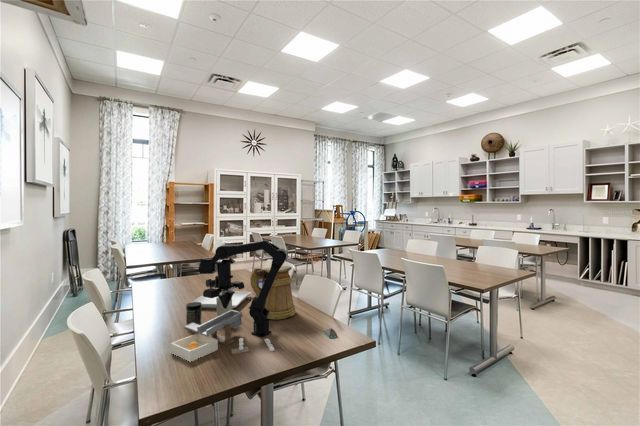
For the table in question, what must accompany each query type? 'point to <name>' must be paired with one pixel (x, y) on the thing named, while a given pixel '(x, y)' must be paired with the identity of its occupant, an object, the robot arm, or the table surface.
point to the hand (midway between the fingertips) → (225, 308)
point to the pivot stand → (223, 339)
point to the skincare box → (220, 307)
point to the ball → (193, 345)
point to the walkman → (260, 283)
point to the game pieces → (241, 349)
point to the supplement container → (194, 313)
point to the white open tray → (204, 348)
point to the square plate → (212, 302)
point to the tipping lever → (217, 323)
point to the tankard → (276, 292)
